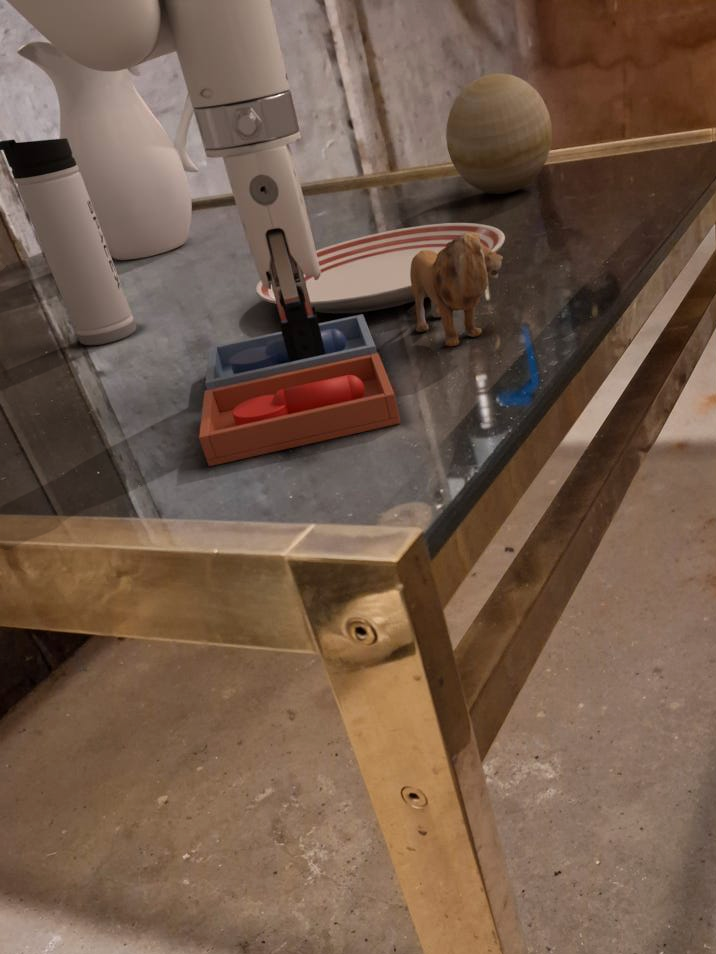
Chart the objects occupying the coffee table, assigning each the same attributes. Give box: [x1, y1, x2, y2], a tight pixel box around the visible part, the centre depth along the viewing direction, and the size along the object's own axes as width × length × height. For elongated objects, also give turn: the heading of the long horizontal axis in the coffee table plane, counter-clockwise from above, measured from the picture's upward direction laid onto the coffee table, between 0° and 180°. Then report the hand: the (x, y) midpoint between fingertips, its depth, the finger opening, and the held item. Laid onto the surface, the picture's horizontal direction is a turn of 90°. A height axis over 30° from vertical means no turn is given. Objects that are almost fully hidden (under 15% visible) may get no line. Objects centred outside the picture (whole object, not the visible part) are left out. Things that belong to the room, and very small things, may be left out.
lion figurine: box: [406, 233, 504, 347], centre depth 82 cm, size 15×5×9 cm, turn 35°
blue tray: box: [204, 314, 378, 390], centre depth 81 cm, size 14×10×2 cm
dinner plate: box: [255, 222, 506, 314], centre depth 100 cm, size 28×27×3 cm
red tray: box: [198, 352, 401, 467], centre depth 71 cm, size 14×10×2 cm
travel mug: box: [0, 138, 138, 347], centre depth 96 cm, size 6×7×20 cm
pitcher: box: [16, 40, 199, 261], centre depth 133 cm, size 24×17×28 cm
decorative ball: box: [445, 72, 553, 195], centre depth 130 cm, size 15×15×15 cm
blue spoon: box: [230, 329, 346, 374], centre depth 81 cm, size 10×4×2 cm, turn 102°
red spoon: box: [232, 375, 365, 426], centre depth 71 cm, size 10×4×2 cm, turn 102°
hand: (308, 358), depth 82 cm, fingers closed on blue spoon, 2 cm apart
